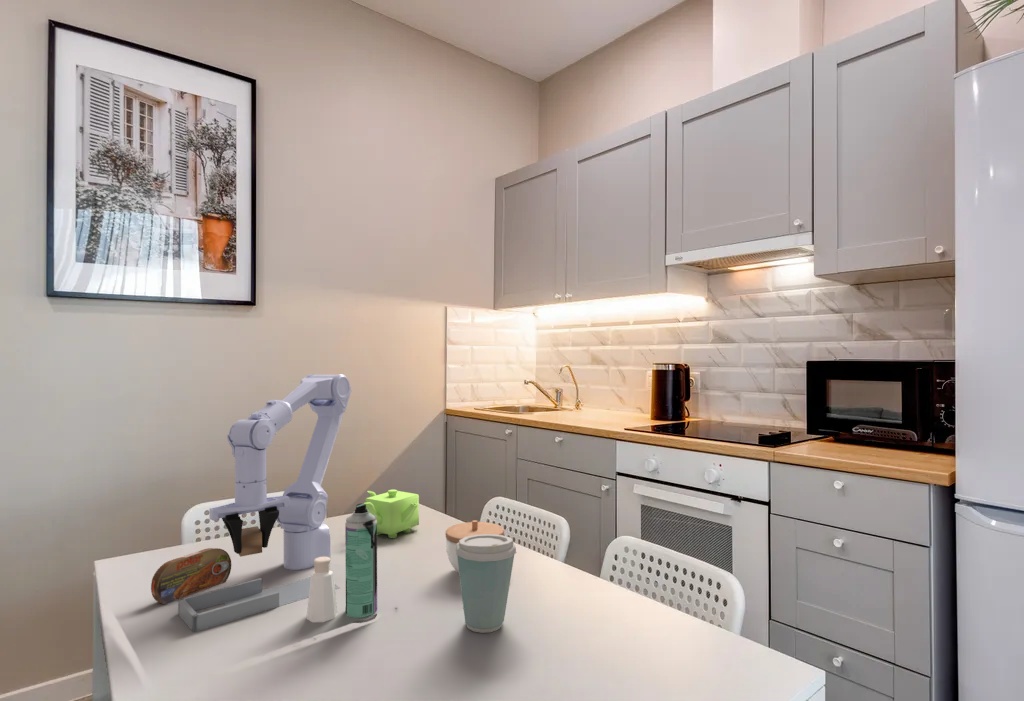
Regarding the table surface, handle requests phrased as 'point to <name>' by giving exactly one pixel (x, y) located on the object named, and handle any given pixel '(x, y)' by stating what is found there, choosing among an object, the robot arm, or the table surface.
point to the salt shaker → (322, 592)
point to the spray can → (361, 564)
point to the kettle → (394, 511)
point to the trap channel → (239, 602)
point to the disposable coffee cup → (485, 579)
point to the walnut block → (251, 541)
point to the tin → (190, 574)
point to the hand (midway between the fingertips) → (251, 549)
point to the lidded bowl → (466, 530)
